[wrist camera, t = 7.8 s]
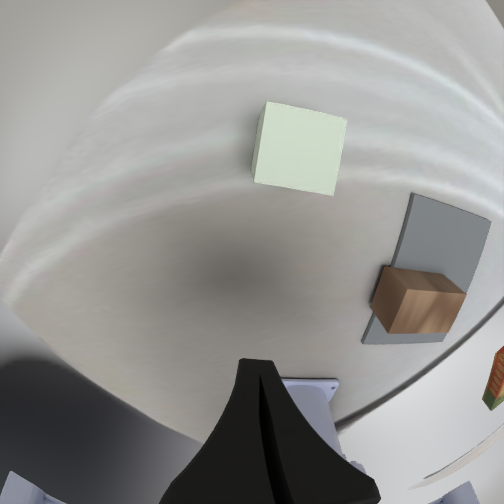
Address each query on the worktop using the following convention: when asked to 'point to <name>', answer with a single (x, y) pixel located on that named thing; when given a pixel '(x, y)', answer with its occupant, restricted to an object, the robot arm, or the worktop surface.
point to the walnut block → (416, 301)
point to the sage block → (298, 148)
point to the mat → (434, 255)
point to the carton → (495, 382)
